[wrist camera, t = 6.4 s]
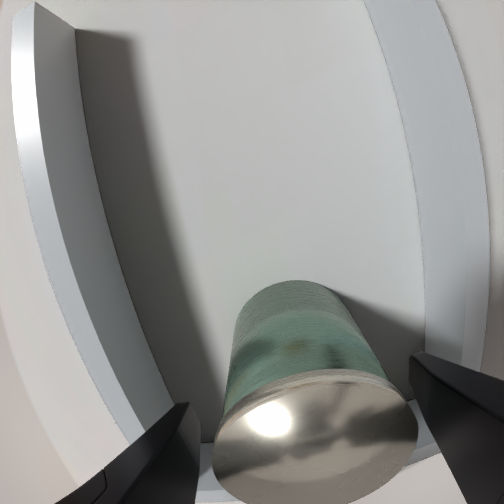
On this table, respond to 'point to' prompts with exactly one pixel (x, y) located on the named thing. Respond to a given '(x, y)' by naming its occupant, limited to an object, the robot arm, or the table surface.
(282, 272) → the table surface
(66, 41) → the u-shaped frame
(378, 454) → the tea tin
